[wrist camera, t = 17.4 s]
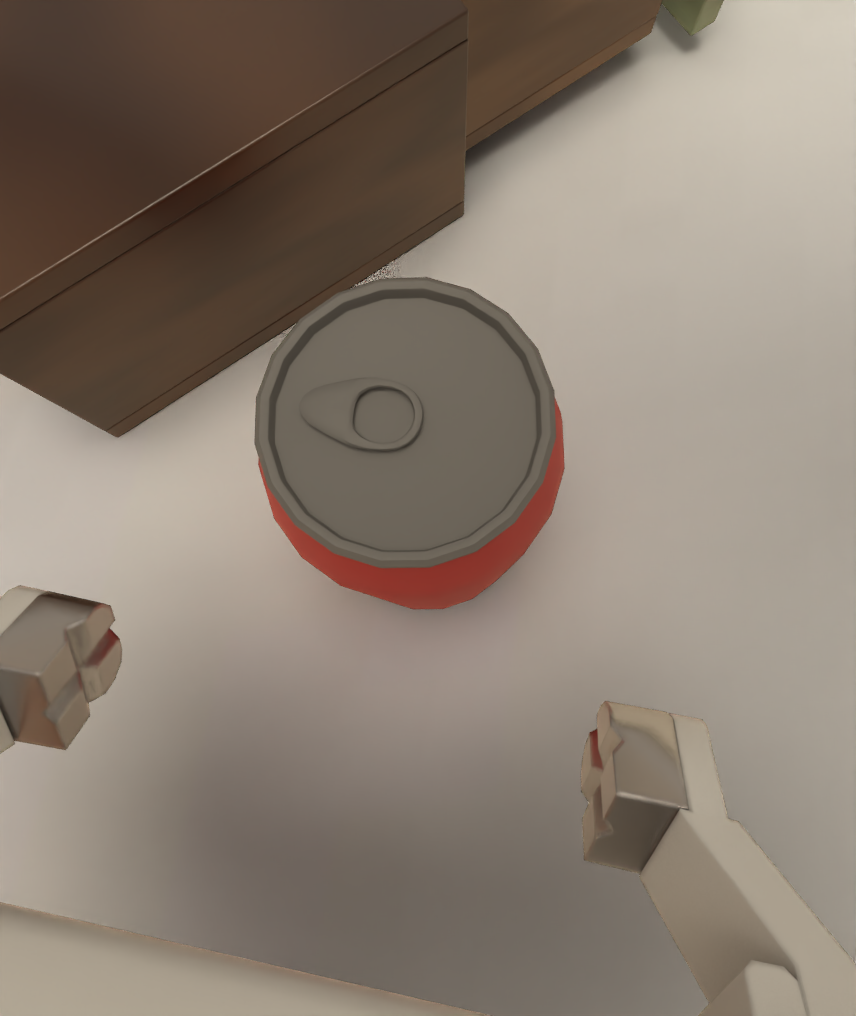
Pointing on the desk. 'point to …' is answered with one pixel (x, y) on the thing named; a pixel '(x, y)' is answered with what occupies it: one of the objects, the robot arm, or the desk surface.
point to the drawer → (551, 48)
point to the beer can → (409, 441)
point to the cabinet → (209, 178)
